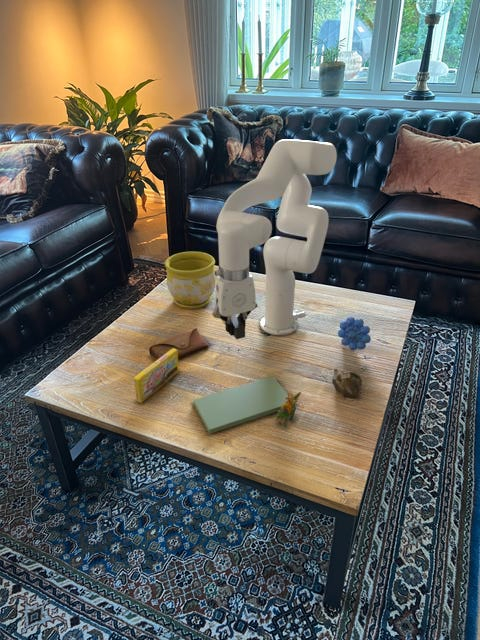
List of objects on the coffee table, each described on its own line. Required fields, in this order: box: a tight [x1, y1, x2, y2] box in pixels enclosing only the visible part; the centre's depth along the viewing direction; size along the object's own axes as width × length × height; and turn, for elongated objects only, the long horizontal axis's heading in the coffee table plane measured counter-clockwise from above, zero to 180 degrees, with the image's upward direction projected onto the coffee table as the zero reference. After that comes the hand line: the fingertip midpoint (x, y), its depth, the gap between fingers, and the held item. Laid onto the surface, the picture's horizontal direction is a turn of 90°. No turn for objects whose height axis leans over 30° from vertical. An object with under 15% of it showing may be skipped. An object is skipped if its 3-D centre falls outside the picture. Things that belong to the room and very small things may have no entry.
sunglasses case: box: [148, 327, 211, 362], centre depth 139 cm, size 18×7×7 cm, turn 130°
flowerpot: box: [164, 251, 217, 310], centre depth 162 cm, size 18×18×16 cm
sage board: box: [192, 375, 291, 435], centre depth 117 cm, size 24×12×2 cm, turn 114°
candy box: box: [133, 348, 180, 404], centre depth 122 cm, size 16×2×8 cm, turn 148°
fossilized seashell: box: [331, 368, 363, 398], centre depth 122 cm, size 8×7×10 cm
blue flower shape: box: [337, 316, 372, 352], centre depth 136 cm, size 12×7×12 cm, turn 40°
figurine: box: [275, 391, 302, 428], centre depth 111 cm, size 3×12×8 cm, turn 144°
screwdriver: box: [220, 314, 246, 340], centre depth 124 cm, size 15×3×4 cm, turn 24°
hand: (235, 331), depth 122 cm, fingers closed on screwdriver, 2 cm apart
